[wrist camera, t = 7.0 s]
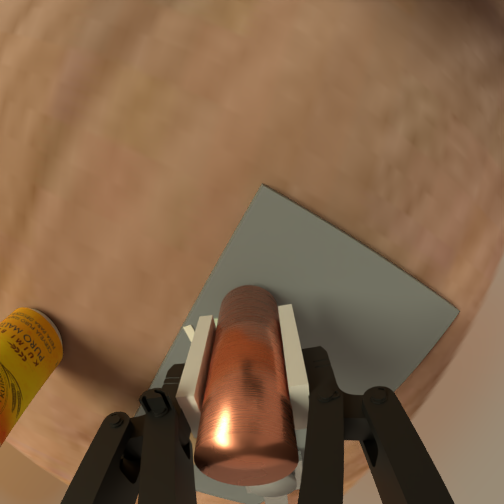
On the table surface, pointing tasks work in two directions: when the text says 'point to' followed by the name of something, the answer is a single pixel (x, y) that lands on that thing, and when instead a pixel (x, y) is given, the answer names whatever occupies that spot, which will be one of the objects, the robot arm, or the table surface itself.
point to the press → (319, 308)
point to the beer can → (25, 362)
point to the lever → (248, 398)
